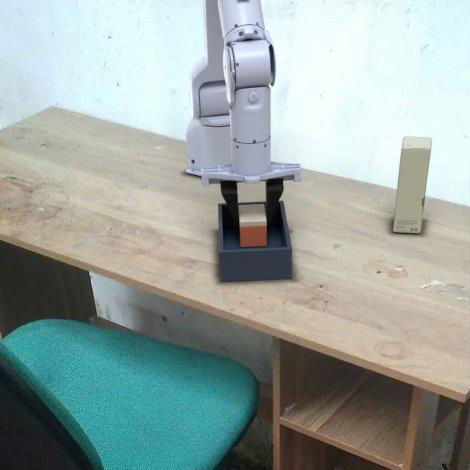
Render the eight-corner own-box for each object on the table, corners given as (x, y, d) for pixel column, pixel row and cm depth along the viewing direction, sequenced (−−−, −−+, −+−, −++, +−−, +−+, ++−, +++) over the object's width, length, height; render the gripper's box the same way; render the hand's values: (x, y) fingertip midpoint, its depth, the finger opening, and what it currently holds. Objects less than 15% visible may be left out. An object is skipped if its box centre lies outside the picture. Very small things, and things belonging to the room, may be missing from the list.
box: (420, 234, 123) (432, 149, 114) (391, 233, 124) (401, 148, 115) (421, 220, 127) (433, 135, 118) (393, 218, 127) (403, 134, 118)
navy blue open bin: (219, 231, 126) (217, 203, 123) (283, 228, 126) (283, 200, 123) (220, 282, 115) (219, 251, 111) (291, 278, 115) (291, 248, 111)
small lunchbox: (239, 229, 125) (238, 204, 122) (264, 228, 125) (264, 203, 122) (240, 247, 120) (239, 221, 118) (266, 246, 120) (266, 220, 118)
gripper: (199, 149, 109) (205, 243, 119) (304, 144, 109) (301, 238, 119) (199, 131, 114) (204, 222, 124) (299, 126, 114) (297, 218, 124)
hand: (252, 229), depth 122 cm, fingers closed on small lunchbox, 4 cm apart
